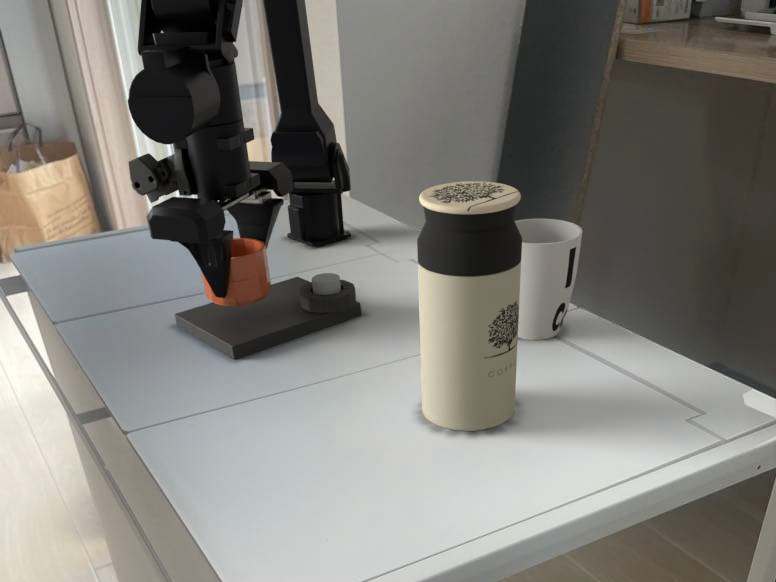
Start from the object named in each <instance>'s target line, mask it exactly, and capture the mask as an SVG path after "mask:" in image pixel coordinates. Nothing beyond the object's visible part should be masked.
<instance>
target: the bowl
mask: <svg viewBox="0 0 776 582" xmlns="http://www.w3.org/2000/svg"><path fill="white" fill-rule="evenodd" d="M267 252H268V251H267V250H266V246H265V244H264V242H262V241H259V240H257V239H250V238H240V237H233V243H232V253H231V263H230V273H229V283H228V290H227V296H226V297H225V298H218V297H216V296H215V295H214V293H213V291H212V289H211V287H210V286H209V284H208V282H207V280H206V278H205V276H204V275H203V273H202V271H201V270H200V273H201V278H202V283H203V284H202V285H203V288H204V294H205V297H206V298H207V299H208V300H210V301H211V303H212V302H214V303H215V304H218V305H222V306H243V305H248V304H252V303H255V302H258V301H260V300H262V299H264V298H265V297H266V296H267V294H268V293H269V292H270V290H271V285H272V283H271V276H270V275H271V274H270V268H269V259H268V253H267Z"/></svg>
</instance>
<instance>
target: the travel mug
mask: <svg viewBox="0 0 776 582" xmlns="http://www.w3.org/2000/svg"><path fill="white" fill-rule="evenodd" d="M521 198H522V194H521V192H520V191H519V190H518V189H517V188H515V187H513V186H511V185H509V184H505V183H500V182H494V181H484V180H483V181H480V180H471V181H470V180H469V181H468V180H466V181H453V182H448V183H446V182H445V183H442V184H437V185H434V186H431V187H428V188H427V189H425V190H423V191H422V192H421V193H420V194H419V198H418V200H419V203H420V204H421V206H422V209H423V213H424V219H425V222H424V224H423V226H422V228H421V229H420V233H419V235H418V237H417V240H416V243H417V244H416V245H417V251H416V252H417V280H418V281H417V283H418V284H417V285H418V286H417V287H418V314H419V315H418V316H419V346H420V347H419V351H420V382H421V383H420V384H421V385H420V386H421V388H420V390H421V412H422V414H423V416H424V417H425V418H426V420H428V421H429V422H431V423H433V424H435V425H437V426H439V427H442V428H445V429H448V430H452V431H453V430H454V431H464V432H476V431H481V430H486V429H491V428H494V427H497V426H500V425H501V424H503V423H505V422H507V421H508V420H509V419H511V417H512V416H513V415H514V413H515V409H516V389H517V388H516V387H517V367H518V363H517V362H518V343H519V342H518V341H519V338H518V321H519V299H520V276H521V254H522V236H521V234H520V232H519V230H518V227H517V225H516V223H515V221H516V220H515V215H516V209H517V206H518V203H519V202H520V201H521Z"/></svg>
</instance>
